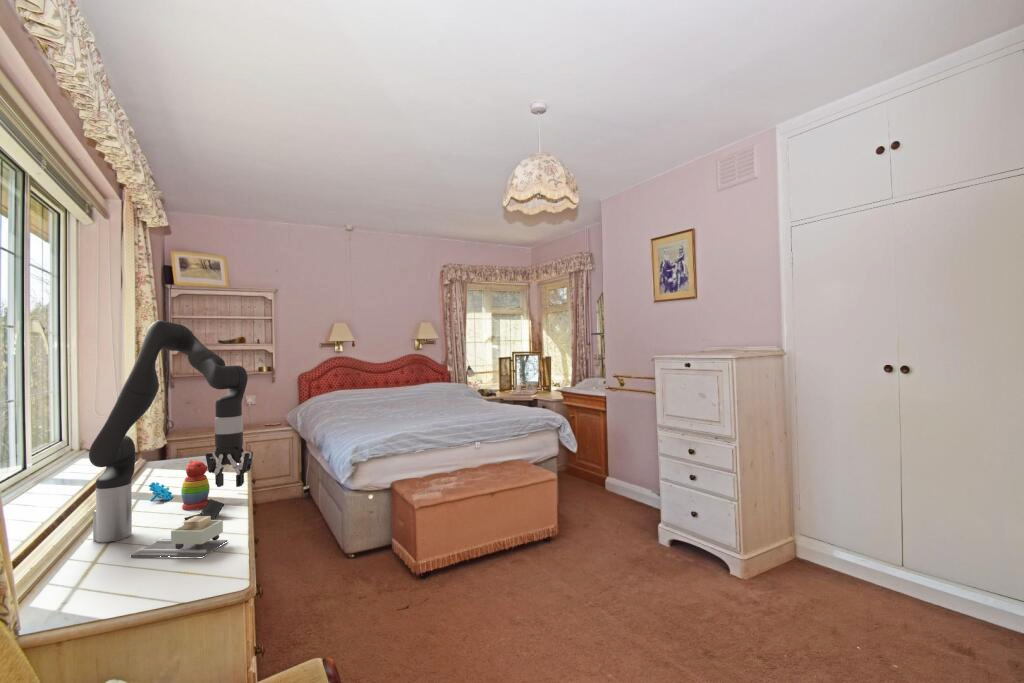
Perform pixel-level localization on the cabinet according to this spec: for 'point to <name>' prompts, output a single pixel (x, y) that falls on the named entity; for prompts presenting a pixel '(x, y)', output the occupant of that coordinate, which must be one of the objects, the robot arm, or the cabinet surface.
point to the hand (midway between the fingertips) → (229, 486)
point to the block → (197, 523)
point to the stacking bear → (195, 486)
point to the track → (168, 549)
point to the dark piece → (210, 509)
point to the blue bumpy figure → (160, 491)
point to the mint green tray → (196, 535)
